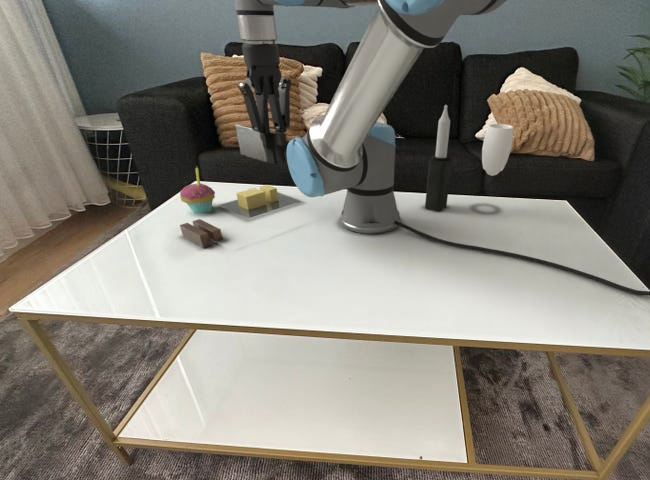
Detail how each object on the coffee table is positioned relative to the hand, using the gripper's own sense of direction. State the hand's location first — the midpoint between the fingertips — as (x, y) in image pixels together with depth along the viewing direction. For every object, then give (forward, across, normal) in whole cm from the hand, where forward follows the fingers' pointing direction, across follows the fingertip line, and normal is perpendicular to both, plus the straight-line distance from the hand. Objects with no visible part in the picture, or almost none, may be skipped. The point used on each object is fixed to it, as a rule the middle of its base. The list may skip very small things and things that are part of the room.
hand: (276, 161), depth 101 cm
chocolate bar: (+13, +23, -1) cm, 27 cm away
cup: (+13, -41, +39) cm, 58 cm away
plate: (+13, 0, -10) cm, 16 cm away
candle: (+13, -32, +28) cm, 44 cm away
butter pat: (+12, -3, -10) cm, 16 cm away
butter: (+12, +3, -10) cm, 16 cm away
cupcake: (+13, +14, -17) cm, 26 cm away
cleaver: (+1, 0, -5) cm, 5 cm away
